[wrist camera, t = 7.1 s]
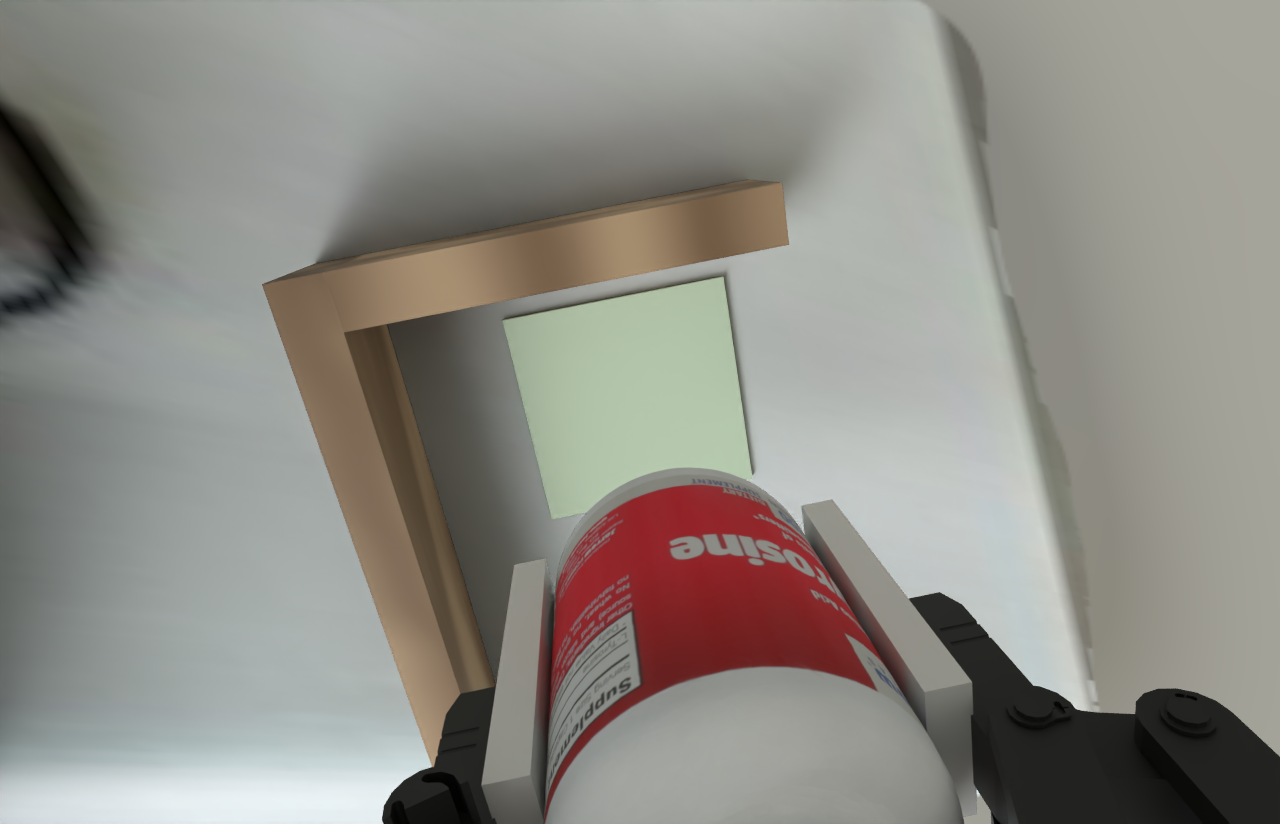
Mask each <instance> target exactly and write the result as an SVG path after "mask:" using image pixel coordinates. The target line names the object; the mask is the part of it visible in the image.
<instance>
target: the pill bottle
mask: <svg viewBox="0 0 1280 824" xmlns="http://www.w3.org/2000/svg"><path fill="white" fill-rule="evenodd" d="M543 824H964V820H963V814H962V809H961V805H960V801H959V798H958V795H957V792H956V789H955V786H954V784H953V781H952V778H951V776H950V774H949V772H948V770H947V768H946V766H945V764H944V762H943V760H942V758H941V757H940V755H939V753H938V751H937V749H936V747H935V745H934V744H933V742H932V740H931V738H930V737H929V735H928V733H927V732H926V730H925V728H924V727H923V725H922V724H921V722H920V721H919V719H918V717H917V716H916V714H915V713H914V711H913V709H912V708H911V706H910V705H909V703H908V701H907V700H906V698H905V696H904V695H903V693H902V691H901V690H900V688H899V686H898V685H897V683H896V682H895V680H894V678H893V677H892V675H891V674H890V672H889V671H888V669H887V667H886V666H885V664H884V662H883V661H882V659H881V657H880V656H879V654H878V652H877V651H876V649H875V647H874V646H873V644H872V642H871V641H870V639H869V637H868V636H867V634H866V633H865V631H864V630H863V628H862V626H861V625H860V623H859V622H858V620H857V618H856V616H855V615H854V613H853V612H852V610H851V609H850V607H849V606H848V604H847V602H846V601H845V599H844V597H843V595H842V593H841V592H840V591H839V589H838V588H837V586H836V585H835V583H834V582H833V580H832V579H831V577H830V575H829V573H828V572H827V570H826V569H825V567H824V566H823V564H822V562H821V561H820V559H819V557H818V556H817V554H816V553H815V551H814V549H813V548H812V547H811V545H810V543H809V542H808V540H807V538H806V537H805V535H804V533H803V532H802V530H801V529H800V527H799V526H798V524H797V523H796V522H795V520H794V519H793V518H792V516H791V515H790V514H789V513H788V511H787V510H786V509H785V508H784V507H783V506H782V505H781V504H780V503H779V502H778V501H777V500H775V499H774V498H773V497H772V496H770V495H769V494H768V493H767V492H765V491H764V490H762V489H761V488H759V487H758V486H756V485H754V484H752V483H751V482H749V481H747V480H745V479H743V478H740V477H737V476H735V475H732V474H729V473H726V472H722V471H718V470H712V469H704V468H692V467H688V468H672V469H666V470H661V471H657V472H653V473H649V474H646V475H643V476H640V477H638V478H636V479H633V480H631V481H629V482H627V483H625V484H623V485H621V486H620V487H618V488H616V489H615V490H613V491H612V492H610V493H609V494H607V495H606V496H605V497H603V498H602V499H601V500H600V501H599V502H597V503H596V504H595V505H594V506H593V507H592V508H591V509H590V510H589V511H588V512H587V513H586V514H585V516H584V517H583V518H582V519H581V520H580V522H579V523H578V525H577V526H576V527H575V529H574V531H573V533H572V534H571V536H570V538H569V540H568V542H567V544H566V546H565V549H564V551H563V553H562V556H561V560H560V563H559V568H558V574H557V581H556V591H555V602H554V628H553V644H552V668H551V691H550V707H549V730H548V752H547V775H546V787H545V808H544V823H543Z"/></svg>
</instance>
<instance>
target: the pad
mask: <svg viewBox="0 0 1280 824" xmlns="http://www.w3.org/2000/svg"><path fill="white" fill-rule="evenodd" d="M502 321H503V325H504V329H505V333H506V337H507V341H508V345H509V349H510V353H511V357H512V361H513V365H514V369H515V373H516V377H517V381H518V385H519V389H520V393H521V397H522V402H523V406H524V410H525V414H526V418H527V422H528V426H529V430H530V434H531V438H532V442H533V446H534V450H535V454H536V458H537V462H538V466H539V470H540V474H541V478H542V482H543V486H544V490H545V494H546V498H547V502H548V506H549V510H550V514H551V518H552V519H557V518H562V517H567V516H572V515H577V514H582V513H587V512H588V511H589V510H590V509H591V508H592V507H593V506H594V505H595V504H596V503H597V502H599V501H600V500H601V499H602V498H603V497H605V496H606V495H607V494H609V493H610V492H612V491H613V490H615V489H616V488H618V487H620V486H621V485H623V484H625V483H627V482H629V481H631V480H633V479H636V478H638V477H640V476H643V475H646V474H649V473H653V472H657V471H661V470H666V469H672V468H688V467H692V468H704V469H712V470H718V471H722V472H726V473H729V474H732V475H735V476H737V477H740V478H743V479H745V480H747V479H752V472H751V465H750V458H749V451H748V444H747V437H746V430H745V423H744V416H743V409H742V402H741V395H740V388H739V381H738V374H737V367H736V361H735V354H734V347H733V340H732V333H731V326H730V319H729V312H728V305H727V298H726V291H725V284H724V277H723V276H721V277H716V278H711V279H706V280H701V281H696V282H691V283H685V284H680V285H675V286H670V287H665V288H660V289H655V290H650V291H645V292H640V293H635V294H630V295H625V296H620V297H615V298H610V299H605V300H600V301H595V302H590V303H584V304H579V305H574V306H569V307H564V308H559V309H554V310H549V311H544V312H539V313H534V314H529V315H524V316H519V317H514V318H509V319H504V320H502Z"/></svg>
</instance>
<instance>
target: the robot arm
mask: <svg viewBox="0 0 1280 824" xmlns="http://www.w3.org/2000/svg"><path fill="white" fill-rule="evenodd" d="M801 507H802V515H803V523H804V532H805V537H806V538H807V540H808V542H809V543H810V545H811V547H812V548H813V549H814V551H815V553H816V554H817V556H818V557H819V559H820V561H821V562H822V564H823V566H824V567H825V569H826V570H827V572H828V573H829V575H830V577H831V579H832V580H833V582H834V583H835V585H836V586H837V588H838V589H839V591H840V592H841V593H842V595H843V597H844V599H845V601H846V602H847V604H848V606H849V607H850V609H851V610H852V612H853V613H854V615H855V616H856V618H857V620H858V622H859V623H860V625H861V626H862V628H863V630H864V631H865V633H866V634H867V636H868V637H869V639H870V641H871V642H872V644H873V646H874V647H875V649H876V651H877V652H878V654H879V656H880V657H881V659H882V661H883V662H884V664H885V666H886V667H887V669H888V671H889V672H890V674H891V675H892V677H893V678H894V680H895V682H896V683H897V685H898V686H899V688H900V690H901V691H902V693H903V695H904V696H905V698H906V700H907V701H908V703H909V705H910V706H911V708H912V709H913V711H914V713H915V714H916V716H917V717H918V719H919V721H920V722H921V724H922V725H923V727H924V728H925V730H926V732H927V733H928V735H929V737H930V738H931V740H932V742H933V744H934V745H935V747H936V749H937V751H938V753H939V755H940V757H941V758H942V760H943V762H944V764H945V766H946V768H947V770H948V772H949V774H950V776H951V778H952V781H953V784H954V786H955V789H956V792H957V795H958V798H959V801H960V805H961V809H962V814H963V817H966V816H971V815H975V814H977V794H976V788H977V790H978V791H979V793H980V795H981V796H982V798H983V799H984V801H985V802H986V804H987V805H988V807H989V809H990V810H991V824H1280V757H1279V756H1278V755H1277V754H1276V753H1275V752H1274V751H1273V750H1272V749H1271V748H1270V747H1269V746H1268V745H1267V744H1266V743H1264V742H1263V741H1262V740H1261V739H1260V738H1259V737H1258V736H1257V735H1256V734H1255V733H1254V732H1253V731H1252V730H1250V729H1249V728H1248V727H1247V726H1246V725H1245V724H1244V723H1243V722H1242V721H1241V720H1240V719H1239V718H1238V717H1237V716H1236V715H1234V714H1233V713H1232V712H1231V711H1230V710H1228V709H1227V708H1225V707H1224V706H1223V705H1221V704H1220V703H1218V702H1217V701H1215V700H1213V699H1210V698H1208V697H1206V696H1203V695H1200V694H1198V693H1195V692H1191V691H1185V690H1181V689H1156V690H1153V691H1150V692H1147V693H1144V694H1143V695H1142V696H1141V697H1140V698H1139V699H1138V700H1137V701H1136V712H1135V714H1119V713H1096V712H1088V711H1081V710H1077V709H1075V708H1074V706H1073V705H1072V704H1071V702H1069V701H1068V700H1066V699H1065V698H1064V697H1062V696H1061V695H1059V694H1058V693H1056V692H1053V691H1050V690H1048V689H1045V688H1042V687H1039V686H1033V685H1032V684H1031V683H1030V681H1029V680H1028V679H1027V678H1026V677H1025V676H1024V675H1023V674H1022V672H1021V671H1020V670H1019V669H1018V668H1017V667H1016V666H1015V664H1014V663H1013V662H1012V661H1011V660H1010V659H1009V658H1008V656H1007V655H1006V654H1005V653H1004V652H1003V651H1002V650H1001V648H1000V647H999V646H998V645H997V644H996V643H995V642H994V640H993V639H992V638H989V636H988V634H987V632H986V631H985V630H984V629H983V628H982V627H981V626H980V624H977V621H976V620H975V619H974V618H973V617H972V615H971V614H970V613H969V612H968V611H967V610H966V609H965V607H964V606H963V605H962V604H960V603H958V602H956V601H955V600H953V599H951V598H949V597H947V596H945V595H944V594H942V593H940V592H939V593H934V594H929V595H924V596H919V597H915V598H910V599H908V598H907V596H906V595H905V594H904V592H903V591H902V590H901V589H900V587H899V586H898V585H897V583H896V582H895V581H894V579H893V578H892V577H891V575H890V574H889V573H888V572H887V570H886V569H885V568H884V566H883V565H882V564H881V562H880V561H879V560H878V558H877V557H876V556H875V555H874V553H873V552H872V551H871V549H870V548H869V547H868V545H867V544H866V543H865V542H864V540H863V539H862V538H861V536H860V535H859V534H858V532H857V531H856V530H855V528H854V527H853V526H852V525H851V523H850V522H849V521H848V519H847V518H846V517H845V515H844V514H843V513H842V511H841V510H840V509H839V508H838V506H837V505H836V504H835V502H834V501H833V500H828V501H823V502H818V503H813V504H808V505H803V506H801ZM554 602H555V592H554V589H553V585H552V581H551V577H550V573H549V569H548V565H547V561H546V558H544V559H539V560H534V561H529V562H525V563H520V564H515V565H514V569H513V576H512V583H511V590H510V596H509V603H508V610H507V616H506V623H505V630H504V637H503V643H502V650H501V657H500V663H499V670H498V677H497V684H496V686H495V687H490V688H485V689H481V690H476V691H471V692H466V693H461V694H460V695H459V696H458V698H457V699H456V701H455V702H454V703H453V705H452V706H451V708H450V709H449V710H448V712H447V713H446V716H445V721H444V725H443V729H442V733H441V736H442V739H440V742H439V746H438V751H437V753H438V756H436V759H435V764H434V767H431V768H428V769H425V770H421V771H419V772H418V773H416V774H414V775H412V776H411V777H409V778H407V779H406V780H404V781H403V782H402V783H401V784H400V785H399V786H398V787H397V788H396V789H395V790H394V791H393V792H392V793H391V795H390V797H389V799H388V800H387V802H386V804H385V805H384V810H383V816H382V821H383V823H384V824H543V823H544V808H545V787H546V775H547V752H548V730H549V707H550V691H551V668H552V644H553V628H554Z"/></svg>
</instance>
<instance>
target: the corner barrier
mask: <svg viewBox="0 0 1280 824" xmlns="http://www.w3.org/2000/svg"><path fill="white" fill-rule="evenodd" d="M784 245H789V240H788V231H787V223H786V214H785V205H784V196H783V187H782V183H778V182H767V181H756V180H743V181H738V182H733V183H728V184H723V185H717V186H712V187H707V188H702V189H697V190H692V191H687V192H682V193H676V194H671V195H666V196H661V197H656V198H651V199H646V200H641V201H635V202H630V203H625V204H620V205H615V206H610V207H605V208H599V209H594V210H589V211H584V212H579V213H574V214H569V215H564V216H558V217H553V218H548V219H543V220H538V221H533V222H528V223H523V224H517V225H512V226H507V227H502V228H497V229H492V230H487V231H482V232H476V233H471V234H466V235H461V236H456V237H451V238H446V239H440V240H435V241H430V242H425V243H420V244H415V245H410V246H405V247H399V248H394V249H389V250H384V251H379V252H374V253H369V254H364V255H358V256H353V257H348V258H343V259H338V260H333V261H328V262H323V263H317V264H313V265H310V266H308V267H305V268H303V269H300V270H298V271H295V272H293V273H290V274H287V275H285V276H282V277H280V278H277V279H275V280H272V281H269V282H267V283H264V284H262V286H263V288H264V291H265V294H266V297H267V300H268V303H269V305H270V308H271V311H272V314H273V317H274V320H275V322H276V325H277V328H278V331H279V334H280V337H281V340H282V342H283V345H284V348H285V351H286V354H287V357H288V359H289V362H290V365H291V368H292V371H293V374H294V376H295V379H296V382H297V385H298V388H299V391H300V393H301V396H302V399H303V402H304V405H305V408H306V410H307V413H308V416H309V419H310V422H311V425H312V427H313V430H314V433H315V436H316V439H317V442H318V444H319V447H320V450H321V453H322V456H323V459H324V461H325V464H326V467H327V470H328V473H329V476H330V478H331V481H332V484H333V487H334V490H335V493H336V495H337V498H338V501H339V504H340V507H341V510H342V512H343V515H344V518H345V521H346V524H347V527H348V529H349V532H350V535H351V538H352V541H353V544H354V546H355V549H356V552H357V555H358V558H359V561H360V563H361V566H362V569H363V572H364V575H365V578H366V580H367V583H368V586H369V589H370V592H371V595H372V597H373V600H374V603H375V606H376V609H377V612H378V614H379V617H380V620H381V623H382V626H383V629H384V631H385V634H386V637H387V640H388V643H389V646H390V648H391V651H392V654H393V657H394V660H395V663H396V665H397V668H398V671H399V674H400V677H401V680H402V682H403V685H404V688H405V691H406V694H407V697H408V699H409V702H410V705H411V708H412V711H413V714H414V716H415V719H416V722H417V725H418V728H419V731H420V733H421V736H422V739H423V742H424V745H425V748H426V750H427V753H428V756H429V759H430V762H431V765H432V767H434V764H435V759H436V756H438V753H437V751H438V746H439V742H440V739H442V736H441V733H442V729H443V725H444V721H445V716H446V713H447V712H448V710H449V709H450V708H451V706H452V705H453V703H454V702H455V701H456V699H457V698H458V696H459V695H460V694H461V693H466V692H471V691H476V690H481V689H485V688H490V687H495V686H496V685H495V682H494V678H493V675H492V672H491V668H490V665H489V662H488V658H487V655H486V652H485V648H484V645H483V642H482V639H481V635H480V632H479V629H478V625H477V622H476V619H475V615H474V612H473V609H472V605H471V602H470V599H469V595H468V592H467V589H466V586H465V582H464V579H463V576H462V572H461V569H460V566H459V562H458V559H457V556H456V552H455V549H454V546H453V543H452V539H451V536H450V533H449V529H448V526H447V523H446V519H445V516H444V513H443V509H442V506H441V503H440V499H439V496H438V493H437V490H436V486H435V483H434V480H433V476H432V473H431V470H430V466H429V463H428V460H427V456H426V453H425V450H424V447H423V443H422V440H421V437H420V433H419V430H418V427H417V423H416V420H415V417H414V413H413V410H412V407H411V403H410V400H409V397H408V394H407V390H406V387H405V384H404V380H403V377H402V374H401V370H400V367H399V364H398V360H397V357H396V354H395V351H394V347H393V344H392V341H391V337H390V334H389V331H388V327H387V324H389V323H394V322H400V321H405V320H410V319H415V318H420V317H425V316H430V315H435V314H440V313H445V312H450V311H455V310H460V309H465V308H470V307H475V306H481V305H486V304H491V303H496V302H501V301H506V300H511V299H516V298H521V297H526V296H531V295H536V294H541V293H546V292H551V291H557V290H562V289H567V288H572V287H577V286H582V285H587V284H592V283H597V282H602V281H607V280H612V279H617V278H622V277H627V276H633V275H638V274H643V273H648V272H653V271H658V270H663V269H668V268H673V267H678V266H683V265H688V264H693V263H698V262H703V261H709V260H714V259H719V258H724V257H729V256H734V255H739V254H744V253H749V252H754V251H759V250H764V249H769V248H774V247H779V246H784Z"/></svg>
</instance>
